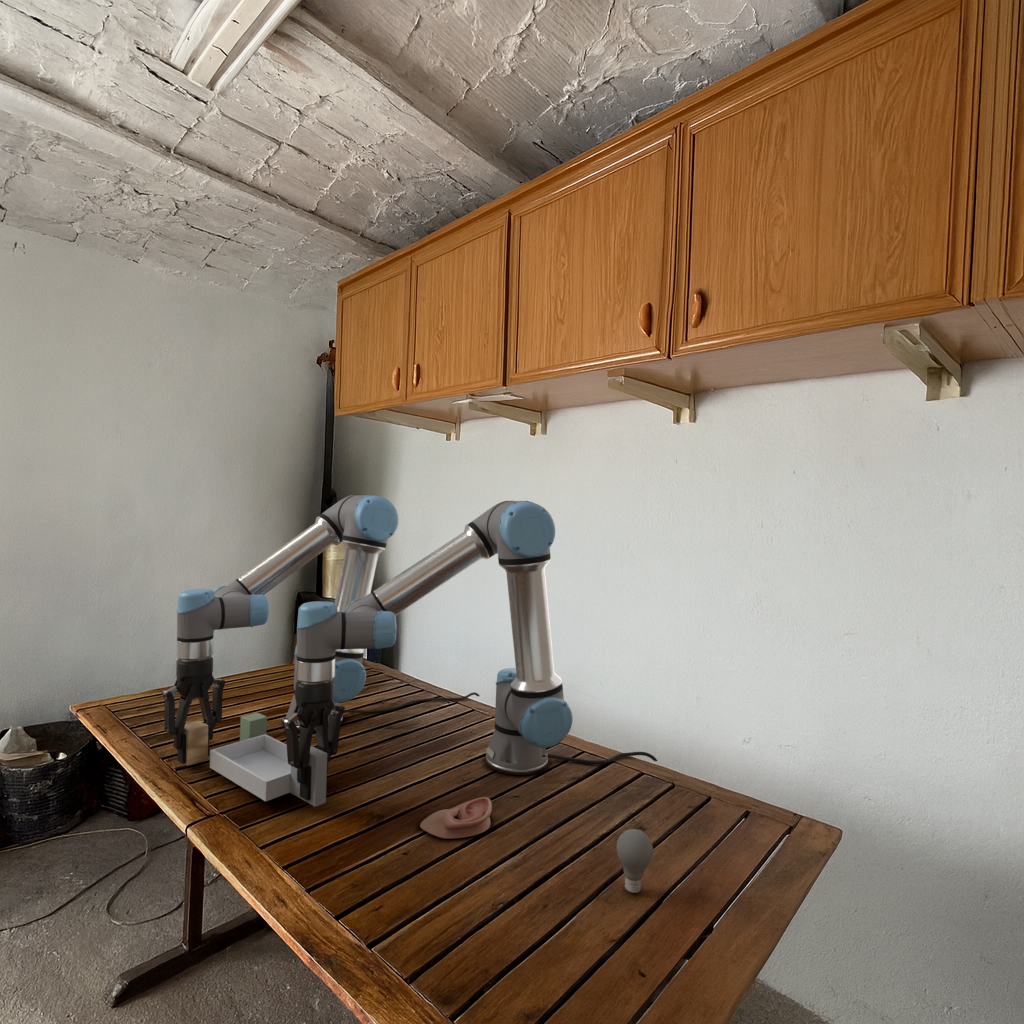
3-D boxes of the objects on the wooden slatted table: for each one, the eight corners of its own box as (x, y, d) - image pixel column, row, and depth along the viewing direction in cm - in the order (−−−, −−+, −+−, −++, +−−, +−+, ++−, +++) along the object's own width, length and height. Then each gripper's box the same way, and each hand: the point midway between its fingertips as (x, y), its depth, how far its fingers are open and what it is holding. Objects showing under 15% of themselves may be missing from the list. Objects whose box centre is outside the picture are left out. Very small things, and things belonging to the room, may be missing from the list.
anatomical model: (414, 813, 120) (434, 787, 131) (414, 834, 120) (433, 806, 131) (482, 823, 117) (496, 795, 129) (481, 844, 118) (495, 815, 129)
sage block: (256, 743, 160) (257, 712, 160) (266, 748, 157) (267, 716, 157) (239, 748, 157) (240, 716, 156) (248, 753, 154) (250, 721, 154)
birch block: (198, 754, 149) (199, 720, 148) (207, 759, 146) (208, 725, 146) (178, 760, 145) (179, 725, 145) (187, 765, 142) (188, 730, 142)
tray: (209, 767, 141) (210, 723, 141) (264, 750, 151) (265, 709, 151) (290, 817, 121) (292, 765, 121) (348, 793, 131) (349, 745, 131)
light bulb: (610, 879, 108) (613, 822, 108) (644, 879, 109) (647, 822, 109) (619, 902, 102) (622, 840, 102) (655, 901, 103) (658, 840, 103)
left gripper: (224, 648, 154) (222, 742, 155) (146, 661, 140) (145, 765, 141) (240, 653, 149) (238, 751, 150) (161, 668, 136) (160, 775, 136)
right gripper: (336, 668, 136) (333, 777, 136) (269, 683, 124) (266, 802, 124) (358, 675, 131) (355, 788, 132) (291, 691, 119) (287, 815, 119)
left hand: (193, 758), depth 145 cm, fingers closed on birch block, 4 cm apart
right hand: (312, 794), depth 128 cm, fingers closed on tray, 2 cm apart
